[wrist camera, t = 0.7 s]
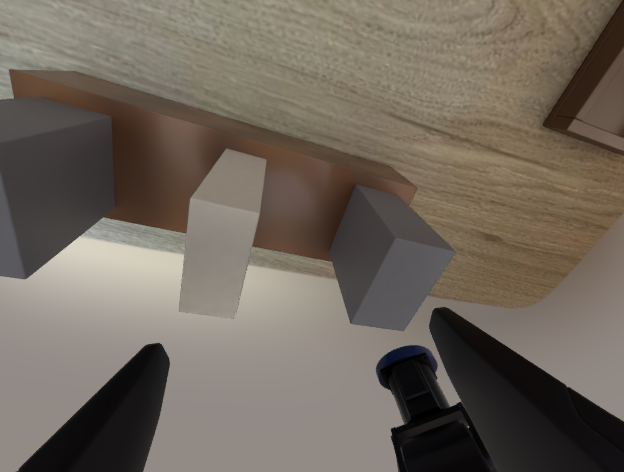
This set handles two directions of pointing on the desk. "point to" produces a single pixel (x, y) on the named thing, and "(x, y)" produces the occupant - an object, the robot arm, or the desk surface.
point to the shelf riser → (203, 156)
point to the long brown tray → (596, 93)
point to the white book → (221, 235)
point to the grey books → (101, 200)
